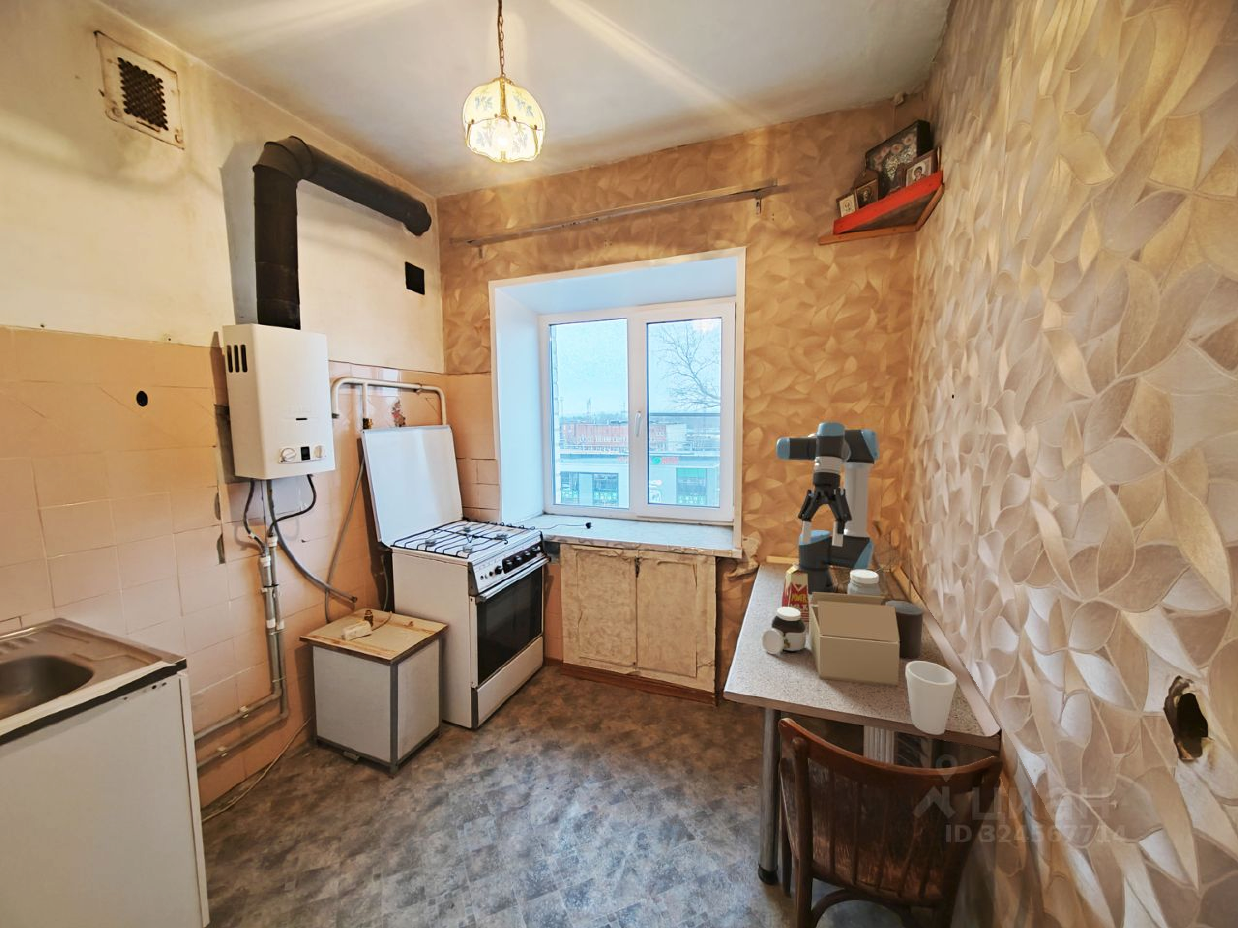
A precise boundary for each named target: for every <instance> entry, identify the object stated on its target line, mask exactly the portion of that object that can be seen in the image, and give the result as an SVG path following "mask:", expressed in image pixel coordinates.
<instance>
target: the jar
mask: <svg viewBox="0 0 1238 928" xmlns="http://www.w3.org/2000/svg"><path fill="white" fill-rule="evenodd" d="M849 577H850V579H849V581H850V582H849V583H848V584H847V590H846V591H847V593H846V594H854V595H869V596H882V595H881V593H882V589H881V587H880V586H879V585H880V584H879V580H880V575H879V574H878V573H877V572H875V571H872V570H869V569H867V570H859V569H857V570H853V569H851V571H850V572H849Z"/></svg>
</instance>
